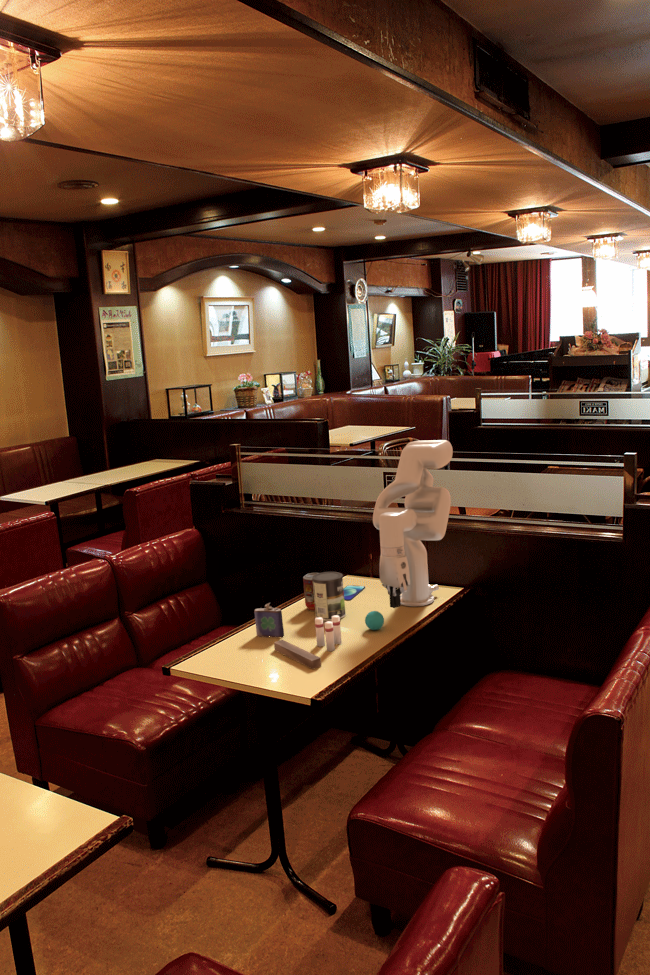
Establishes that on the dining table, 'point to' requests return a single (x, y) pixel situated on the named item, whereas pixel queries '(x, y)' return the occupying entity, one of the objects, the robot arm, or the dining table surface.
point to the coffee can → (329, 595)
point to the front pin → (336, 629)
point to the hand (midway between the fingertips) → (395, 606)
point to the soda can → (309, 591)
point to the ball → (374, 620)
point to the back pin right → (319, 631)
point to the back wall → (297, 654)
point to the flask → (269, 622)
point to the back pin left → (329, 636)
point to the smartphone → (352, 591)
